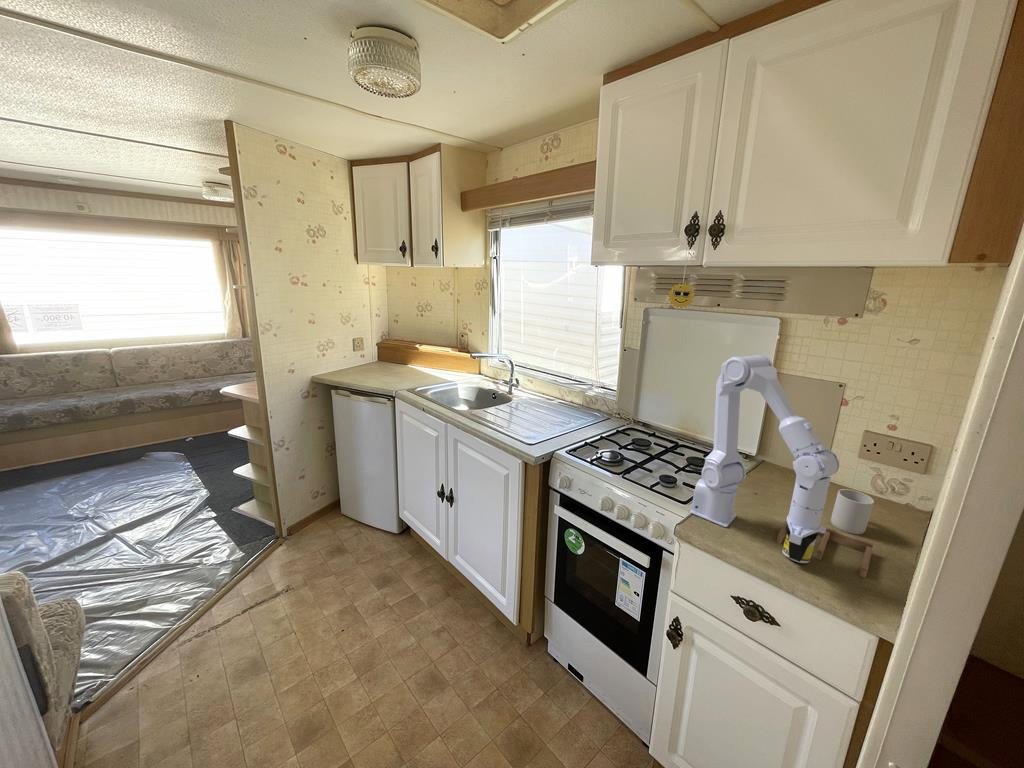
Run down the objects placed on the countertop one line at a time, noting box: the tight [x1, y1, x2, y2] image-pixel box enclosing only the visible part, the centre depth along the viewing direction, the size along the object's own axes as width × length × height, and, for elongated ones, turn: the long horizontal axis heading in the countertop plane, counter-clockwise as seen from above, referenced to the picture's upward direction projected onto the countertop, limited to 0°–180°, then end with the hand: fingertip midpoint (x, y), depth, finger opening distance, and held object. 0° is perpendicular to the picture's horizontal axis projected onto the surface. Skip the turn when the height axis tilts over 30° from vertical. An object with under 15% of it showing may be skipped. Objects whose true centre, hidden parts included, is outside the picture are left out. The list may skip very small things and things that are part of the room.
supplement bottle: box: [781, 534, 818, 564], centre depth 95 cm, size 5×5×10 cm
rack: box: [776, 519, 874, 579], centre depth 100 cm, size 17×12×2 cm
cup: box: [830, 488, 875, 535], centre depth 109 cm, size 7×10×9 cm
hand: (795, 558), depth 94 cm, fingers closed, pressing on supplement bottle
